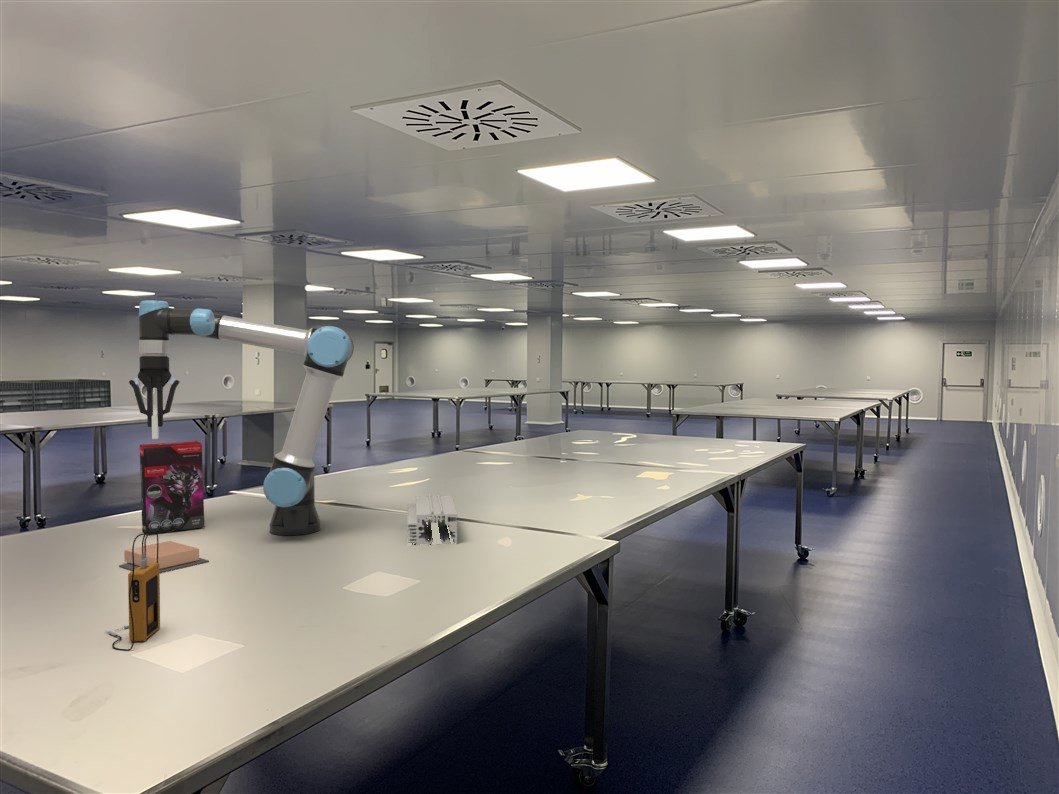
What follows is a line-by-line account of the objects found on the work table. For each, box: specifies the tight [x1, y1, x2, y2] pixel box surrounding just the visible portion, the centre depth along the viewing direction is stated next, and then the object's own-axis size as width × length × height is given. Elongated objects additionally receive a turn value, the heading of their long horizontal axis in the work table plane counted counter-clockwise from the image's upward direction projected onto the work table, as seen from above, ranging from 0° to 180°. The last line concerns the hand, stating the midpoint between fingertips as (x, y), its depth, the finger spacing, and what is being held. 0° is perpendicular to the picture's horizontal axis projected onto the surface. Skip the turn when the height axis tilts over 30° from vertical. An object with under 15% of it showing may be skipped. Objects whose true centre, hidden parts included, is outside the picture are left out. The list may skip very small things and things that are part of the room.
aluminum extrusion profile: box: [407, 492, 458, 546], centre depth 225 cm, size 14×31×10 cm, turn 9°
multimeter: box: [104, 528, 161, 652], centre depth 137 cm, size 15×10×20 cm
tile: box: [123, 540, 200, 569], centre depth 188 cm, size 3×12×14 cm
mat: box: [118, 557, 210, 574], centre depth 187 cm, size 14×16×1 cm
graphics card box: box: [139, 440, 205, 536], centre depth 226 cm, size 17×7×27 cm, turn 129°
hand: (155, 438), depth 207 cm, fingers closed
